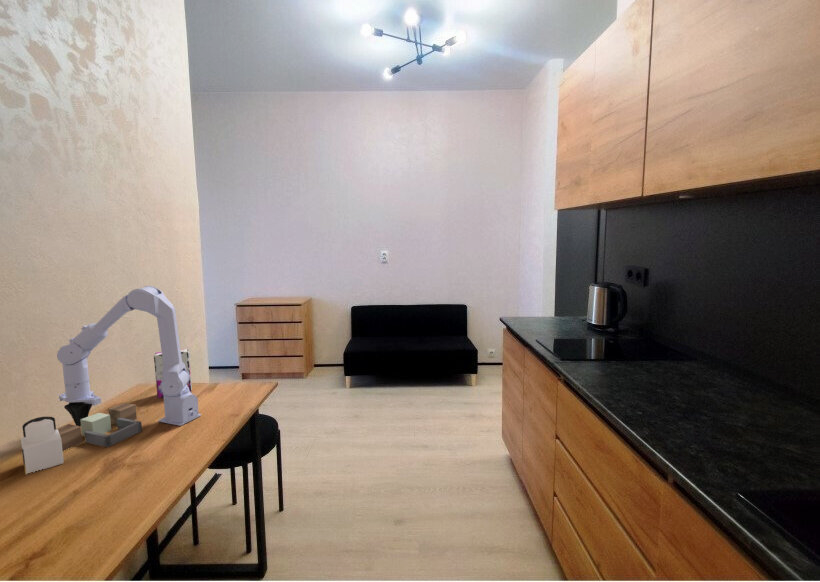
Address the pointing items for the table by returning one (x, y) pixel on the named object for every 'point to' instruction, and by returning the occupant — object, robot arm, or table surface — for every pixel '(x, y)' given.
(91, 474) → the table surface
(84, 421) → the sage block
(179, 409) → the robot arm
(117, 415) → the walnut block
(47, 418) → the white handled block
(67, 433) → the walnut block
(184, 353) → the candy bar box
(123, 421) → the corral
